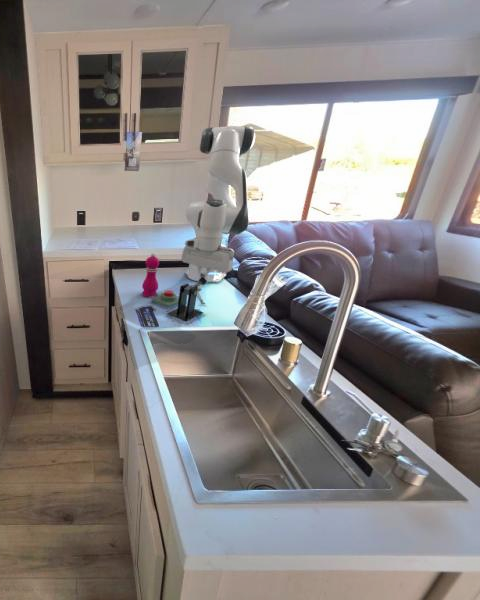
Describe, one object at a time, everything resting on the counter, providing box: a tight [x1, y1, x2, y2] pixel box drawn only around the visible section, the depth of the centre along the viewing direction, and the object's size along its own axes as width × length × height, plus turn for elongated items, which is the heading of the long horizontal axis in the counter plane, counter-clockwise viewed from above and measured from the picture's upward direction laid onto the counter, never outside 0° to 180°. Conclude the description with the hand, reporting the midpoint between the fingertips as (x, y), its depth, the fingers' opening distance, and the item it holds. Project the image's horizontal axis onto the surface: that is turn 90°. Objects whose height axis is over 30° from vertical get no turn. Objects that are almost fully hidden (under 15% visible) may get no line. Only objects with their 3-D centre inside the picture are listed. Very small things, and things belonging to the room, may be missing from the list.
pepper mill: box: [141, 253, 160, 298], centre depth 143 cm, size 7×7×20 cm
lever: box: [184, 278, 208, 296], centre depth 126 cm, size 13×3×3 cm, turn 129°
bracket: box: [166, 283, 204, 323], centre depth 125 cm, size 12×9×13 cm
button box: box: [151, 291, 179, 309], centre depth 138 cm, size 11×9×4 cm
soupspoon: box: [189, 284, 206, 305], centre depth 145 cm, size 22×3×7 cm
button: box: [164, 289, 174, 297], centre depth 137 cm, size 4×4×2 cm
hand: (203, 277), depth 127 cm, fingers closed
